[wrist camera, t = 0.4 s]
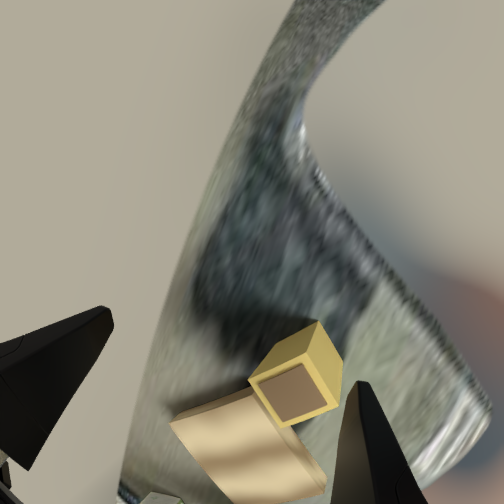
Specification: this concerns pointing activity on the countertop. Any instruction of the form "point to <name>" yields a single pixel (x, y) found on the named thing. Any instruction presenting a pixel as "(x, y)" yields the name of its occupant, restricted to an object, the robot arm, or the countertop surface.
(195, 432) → the cutting board
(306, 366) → the mustard block
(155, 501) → the syrup box
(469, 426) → the countertop surface
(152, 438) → the countertop surface
